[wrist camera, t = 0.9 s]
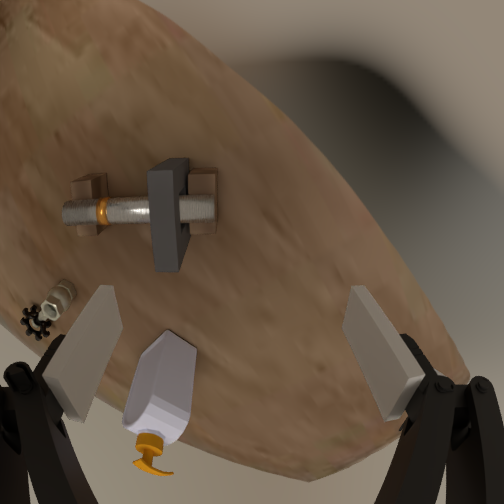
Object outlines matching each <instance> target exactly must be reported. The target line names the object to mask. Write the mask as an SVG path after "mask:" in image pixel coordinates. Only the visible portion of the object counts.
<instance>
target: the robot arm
mask: <svg viewBox="0 0 504 504" xmlns="http://www.w3.org/2000/svg"><path fill="white" fill-rule="evenodd" d="M122 330H123V325H122V322H121V318H120V314H119V309H118V305H117V301H116V296H115V292H114V287H113V285H100V286H99V287H98V289H97V290H96V292H95V293H94V294H93V296H92V297H91V299H90V300H89V302H88V303H87V305H86V306H85V307H84V309H83V310H82V312H81V313H80V315H79V316H78V318H77V319H76V321H75V322H74V324H73V325H72V327H71V329H70V330H69V332H68V333H67V335H62V334H60V335H59V336H58V337H57V338H55V339H54V340H53V341H52V343H51V344H50V346H49V347H48V350H46V352H45V353H44V356H43V357H42V358H41V360H40V361H39V363H38V365H37V366H36V368H35V370H34V371H33V372H32V370H31V369H30V367H29V365H28V364H26V363H25V362H15V363H13V364H11V365H10V366H9V367H7V369H6V370H5V372H4V379H5V381H6V382H7V384H8V386H9V387H1V385H0V504H30V495H29V484H28V472H29V475H30V479H31V482H32V486H33V488H34V492H35V494H36V497H37V500H38V503H39V504H98V502H97V500H96V498H95V496H94V494H93V492H92V490H91V488H90V486H89V484H88V482H87V480H86V478H85V475H84V473H83V471H82V469H81V466H80V464H79V462H78V459H77V457H76V454H75V452H74V449H73V447H72V444H71V441H70V439H69V436H68V433H67V430H66V427H65V424H64V422H63V420H62V419H61V417H62V414H63V412H64V413H65V414H66V416H67V417H68V419H69V420H73V421H77V422H81V423H84V422H85V419H86V417H87V414H88V411H89V408H90V406H91V403H92V400H93V398H94V396H95V393H96V391H97V388H98V386H99V383H100V381H101V378H102V376H103V373H104V371H105V368H106V366H107V364H108V361H109V359H110V357H111V354H112V352H113V350H114V347H115V345H116V343H117V341H118V338H119V336H120V334H121V332H122ZM342 330H343V332H344V334H345V336H346V338H347V340H348V342H349V344H350V346H351V349H352V351H353V353H354V355H355V357H356V359H357V361H358V364H359V366H360V368H361V370H362V372H363V374H364V377H365V379H366V381H367V383H368V385H369V388H370V390H371V392H372V394H373V397H374V399H375V401H376V403H377V406H378V408H379V410H380V413H381V415H382V417H383V420H384V422H386V421H390V420H394V419H398V418H400V417H401V415H402V414H403V412H404V410H406V412H407V414H408V417H407V418H406V420H405V421H404V423H403V424H402V426H401V427H400V429H399V431H401V430H402V429H403V430H402V433H401V436H400V439H399V442H398V445H397V448H396V451H395V454H394V457H393V459H392V462H391V465H390V467H389V470H388V473H387V475H386V477H385V480H384V483H383V485H382V487H381V490H380V492H379V494H378V496H377V498H376V501H375V503H374V504H435V503H436V500H437V496H438V493H439V489H440V485H441V482H442V478H443V474H444V469H445V465H446V504H504V426H503V421H502V417H501V413H500V409H499V405H498V401H497V398H496V394H495V391H494V388H493V385H492V383H491V382H490V381H489V380H488V379H486V378H485V377H482V376H475V377H474V378H472V379H471V381H470V383H469V384H468V385H455V384H454V382H453V381H452V380H451V379H450V378H448V377H446V376H441V375H438V374H437V373H436V371H435V370H434V368H433V367H432V365H431V364H430V362H429V361H428V359H427V358H426V356H425V355H423V352H422V351H421V349H419V346H418V345H417V343H416V342H415V341H414V339H412V338H411V337H410V336H408V335H407V334H406V333H405V334H398V332H397V331H396V329H395V328H394V326H393V325H392V323H391V322H390V320H389V319H388V318H387V316H386V315H385V313H384V312H383V311H382V309H381V308H380V306H379V305H378V304H377V302H376V301H375V299H374V298H373V297H372V295H371V294H370V292H369V291H368V290H367V288H366V287H365V286H351V290H350V295H349V299H348V304H347V308H346V312H345V317H344V321H343V325H342Z"/></svg>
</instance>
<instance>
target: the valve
mask: <svg viewBox="0 0 504 504" xmlns="http://www.w3.org/2000/svg"><path fill="white" fill-rule="evenodd" d="M75 295H76V291H75V288H74V285H73V284H72V283H70V282H68V281H66V280H64V279H63V280H62V281H61V282H60V283H59V284H58V285H57V286H55V287H53V288H52V289H51V290H50V291H49V293H48V295H47V299H46V300H45V301H44V302H43V303H42V304H41V309H42V310H41V311H40V312H39V313H38V312H36V309H37V307H36V306H35V305H33V306H32V307H31V308H30V310H31V312H28V308H24V310H23V311H22V312H23V315H25V316H26V318H25V319H24V317H23V318H22V319H21V320H20V323H21V324H22V325H26V326H27V328H28V329H27V330H26V335H28V336H30V335H31V334H32V333H33V334H35V339H36V340H37V341H40V340H41V339H42V336H41V334H43V336H44V337H48V336H49V335H50V332H49V331H48V332H47V331H46V328H49V327H50V326H51V322H50V321H47V322H45V320H46V319H47V318H49V319H51V320H53V321H56V320H57V319H58V318H59V317H60V316H61V314H62V313H63V312H65V311H66V310H67V309H68V308H69V307H70V304H71V300H72V299H73V298H74V297H75ZM34 315H35V316H34ZM29 319H33V320H32V325H33V326H34V327H36V328H38V327H40V331H36V330H34V329H33V328H32V327H31V326H30V324H29Z"/></svg>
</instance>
